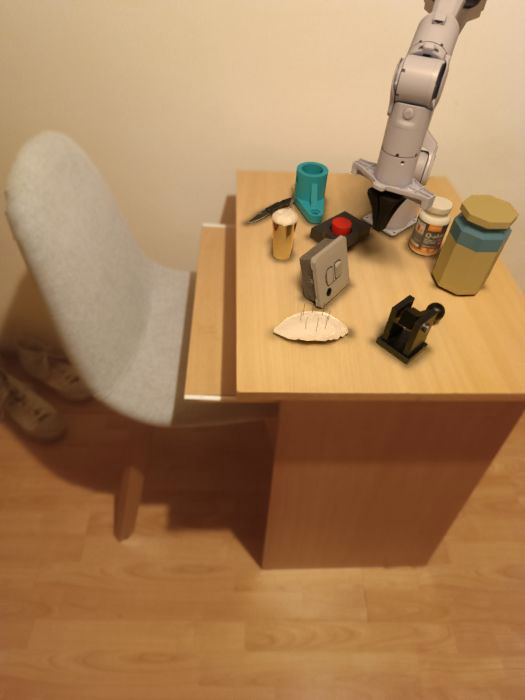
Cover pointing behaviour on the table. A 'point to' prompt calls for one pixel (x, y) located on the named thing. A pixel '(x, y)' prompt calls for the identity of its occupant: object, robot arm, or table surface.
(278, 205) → the folding knife
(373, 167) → the robot arm
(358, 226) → the control block
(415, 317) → the lever
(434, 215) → the pill bottle
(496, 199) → the jar
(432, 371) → the table surface
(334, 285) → the electrical switch
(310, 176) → the bracket
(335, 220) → the button
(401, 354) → the bracket
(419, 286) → the table surface
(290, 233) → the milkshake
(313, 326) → the pincushion
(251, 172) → the table surface
